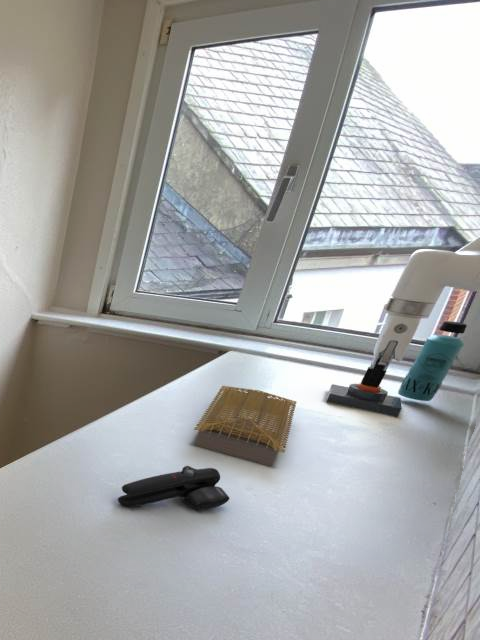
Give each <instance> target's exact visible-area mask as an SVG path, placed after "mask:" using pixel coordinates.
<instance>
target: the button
mask: <svg viewBox="0 0 480 640" xmlns="http://www.w3.org/2000/svg"><path fill="white" fill-rule="evenodd" d="M358 384H359V385H358V388H359V389H363V390H366V391H371V392H379V391H380V389H382V386H380V385H379V387H373V386H368V385H363V384H361V382H359V383H358Z"/></svg>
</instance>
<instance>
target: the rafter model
mask: <svg viewBox="0 0 480 640" xmlns="http://www.w3.org/2000/svg"><path fill="white" fill-rule="evenodd" d="M296 406H297V401H296V400H293V399H289V398H286V397H282V396H279V395H276V394H272V393H269V392H266V391H262V390H259V389H252V388H245V387H244V388H243V387H235V386H228V385H221V387H220V388H219V390H218V392H217V393H216V394H215V396H214V398H213V399H212V400H211V402H210V404H209V405H208V407H207V408H206V410H205V412H204V413H203V414H202V416H201V418H200V419H199V421H198V423H197V424H196V425H195V427H194V428H193V431H198V433H197V436H196V438H195V442H194V446H197V447H200V448H203V449H207V450H211V451H215V452H218V453H222V454H226V455H229V456H233V457H237V458H240V459H244V460H247V461H251V462H254V463H258V464H261V465H266V466H270V467H272V466H273V464H274V461H275V459H276V458H277V455H278V453H279V452H281V453H282V454H285V453H286V448H287V443H288V440H289V435H290V431H291V427H292V422H293V418H294V414H295V410H296Z"/></svg>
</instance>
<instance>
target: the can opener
mask: <svg viewBox="0 0 480 640" xmlns="http://www.w3.org/2000/svg"><path fill="white" fill-rule="evenodd" d="M220 480H221V474H220V472H219V470H218V469H216V468H213V467H206V468H198V469H197V468H194V467H192V466H190V465H184V466H183V467H182V469H181V470H180V471H175V472H174V471H173V472H169V473H168V472H167V473H164V474H159V475H158V474H157V475H154V476H150V477H146V478H142V479H138V480H135V481H131V482H129V483H125V484H123V485H122V487H121V490H122V492H123V493H124V494H123V495H120V496H119V497H118V498H117V502H118V503H119V505H121V506H123V507H137V506H138V507H139V506H144V505H150V504H154V503H157V502H161V501H166V500H170V499H173V498H183V502H184V503H186V505H189V506H190V507H192V508H193V509H195V510H200V511H206V510H210V509H216V508H218V507H221V506H223V505H224V504H226V503H228V502H229V501H230V496H229V495H228V494H227V493H226V491H225V490H224V489H223V488H222V487H220V486H217V484H218V483H219V481H220Z"/></svg>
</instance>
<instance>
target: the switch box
mask: <svg viewBox="0 0 480 640" xmlns="http://www.w3.org/2000/svg"><path fill="white" fill-rule="evenodd" d="M358 385H359V383H350V384H349V385H348V386H344V385H339V384H335V383H332V384H331V386H330V387H329V390H328V392H327V396H326V400H325V403H329V404H333V405H339V406H343V407H347V408H353V409H357V410H361V411H367V412H371V413H375V414H380V415H384V416H389V417H394V418H398V417H399V415H400V413H401V411H402V410H403V406H402V400H401V397H398V396H393V395H390V394H389V392H388V391H387V390H385V389H383V388H381V389H380V391H379V392H371V391H366V390H363V389H359V388H358Z"/></svg>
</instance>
